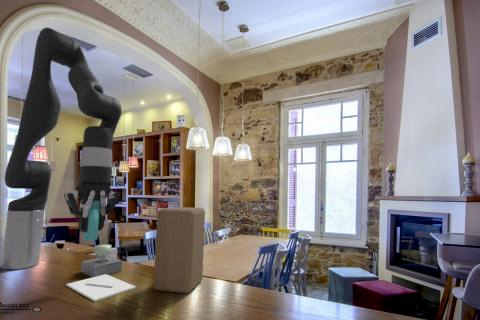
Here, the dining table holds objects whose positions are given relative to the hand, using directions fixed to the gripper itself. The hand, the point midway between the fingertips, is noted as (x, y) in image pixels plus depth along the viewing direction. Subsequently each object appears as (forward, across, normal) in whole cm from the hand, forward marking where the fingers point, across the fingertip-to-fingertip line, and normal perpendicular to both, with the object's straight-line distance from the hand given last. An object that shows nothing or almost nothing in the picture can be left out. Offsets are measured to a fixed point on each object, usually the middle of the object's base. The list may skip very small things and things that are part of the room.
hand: (90, 230), depth 67 cm
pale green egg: (+12, -8, -9) cm, 17 cm away
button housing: (+14, -8, -9) cm, 18 cm away
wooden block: (+14, -15, +18) cm, 27 cm away
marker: (+2, 0, 0) cm, 2 cm away
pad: (+14, -2, +3) cm, 14 cm away
